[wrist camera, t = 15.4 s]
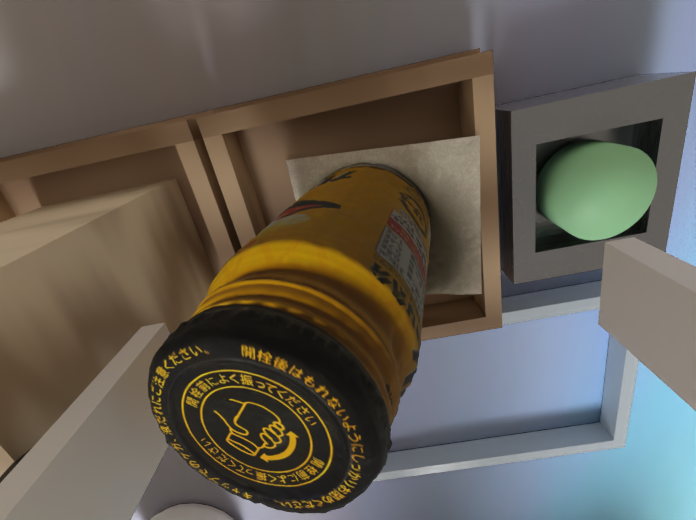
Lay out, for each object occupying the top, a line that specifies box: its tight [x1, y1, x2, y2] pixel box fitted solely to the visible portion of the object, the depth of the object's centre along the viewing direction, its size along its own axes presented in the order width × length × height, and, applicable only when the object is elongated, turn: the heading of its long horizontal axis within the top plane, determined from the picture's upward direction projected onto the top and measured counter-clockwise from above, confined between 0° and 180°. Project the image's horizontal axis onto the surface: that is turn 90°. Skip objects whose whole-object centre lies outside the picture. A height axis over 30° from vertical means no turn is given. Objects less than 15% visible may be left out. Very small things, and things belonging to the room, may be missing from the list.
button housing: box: [495, 72, 696, 284], centre depth 17 cm, size 8×7×3 cm
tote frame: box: [372, 280, 639, 482], centre depth 24 cm, size 13×19×2 cm
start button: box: [536, 139, 657, 240], centre depth 16 cm, size 4×4×2 cm
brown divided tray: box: [0, 48, 502, 341], centre depth 19 cm, size 13×24×3 cm, turn 102°
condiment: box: [148, 136, 482, 513], centre depth 12 cm, size 7×8×12 cm
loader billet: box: [0, 178, 215, 477], centre depth 14 cm, size 8×7×12 cm
